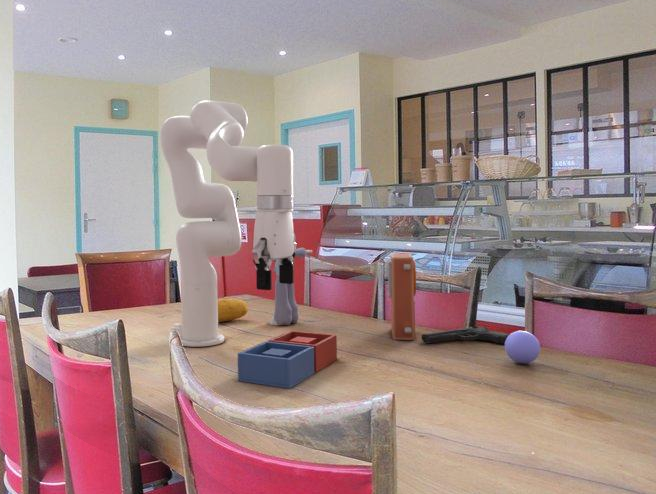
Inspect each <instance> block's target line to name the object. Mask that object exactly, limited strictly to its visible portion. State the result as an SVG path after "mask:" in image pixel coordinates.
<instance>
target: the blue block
mask: <svg viewBox="0 0 656 494" xmlns="http://www.w3.org/2000/svg"><path fill="white" fill-rule="evenodd" d="M261 355H264V356H272V357H280V358H289V357H291V356H292V351H291V350H282V349H274V348H272V349H270V350H267V351H265V352H263V353H261Z"/></svg>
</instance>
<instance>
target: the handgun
mask: <svg viewBox="0 0 656 494" xmlns="http://www.w3.org/2000/svg"><path fill="white" fill-rule="evenodd" d="M510 334H511V333H506V332H502V331H501V332H499V331H495V330H489V329H488V327H487V326H486V325H484V326H478V325H473V326H468V327H462V328H461V327H460V328H456V329H448V330H442V331H434V332H428V333H422V334H421V340H422V342H423V343H424V344H430V343H436V342H445V341H454V340H462V341H474V340H482V341H489V342H493V343H496V344H500V345H505V341H506V339H507V337H508V336H509V335H510Z"/></svg>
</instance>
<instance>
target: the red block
mask: <svg viewBox="0 0 656 494" xmlns="http://www.w3.org/2000/svg"><path fill="white" fill-rule="evenodd" d="M289 342H294V343H303V344H312V345H314V344H316V338H308V337H296V338H294V339H291V340H289Z"/></svg>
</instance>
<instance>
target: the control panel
mask: <svg viewBox="0 0 656 494" xmlns="http://www.w3.org/2000/svg"><path fill="white" fill-rule="evenodd" d="M416 269H417V267H416V261H415V260H414V257H413V256H412V254H411V253H390V258H388V259H387V294H388V298H389V299H390V309H391V310H390V311H391V312H390V313H391V315H390V316H391V317H390V318H391V335H392V339H393V340H396V341H398V340H399V341H415V334H416V314H415V313H416V309H415V307H416V306H415V305H416V303H415V296H416V295H417V270H416Z"/></svg>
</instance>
